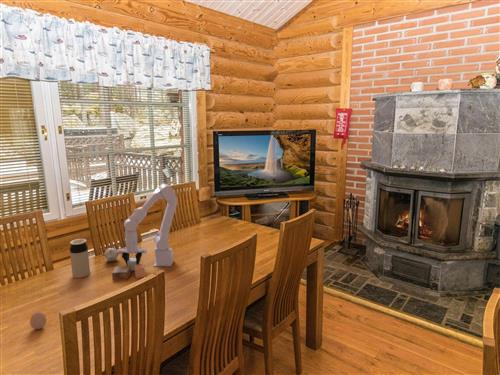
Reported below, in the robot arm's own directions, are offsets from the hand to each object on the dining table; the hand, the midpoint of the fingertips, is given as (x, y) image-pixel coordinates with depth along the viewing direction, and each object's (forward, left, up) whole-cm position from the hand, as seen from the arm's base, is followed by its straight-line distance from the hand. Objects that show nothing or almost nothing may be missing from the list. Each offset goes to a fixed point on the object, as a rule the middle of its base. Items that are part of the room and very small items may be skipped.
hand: (133, 266), depth 177 cm
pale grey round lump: (+15, -10, -2) cm, 18 cm away
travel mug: (+24, +7, -2) cm, 25 cm away
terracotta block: (-6, +8, -2) cm, 10 cm away
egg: (+19, +52, -2) cm, 55 cm away
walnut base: (+3, +9, -2) cm, 10 cm away
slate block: (0, 0, -1) cm, 1 cm away
